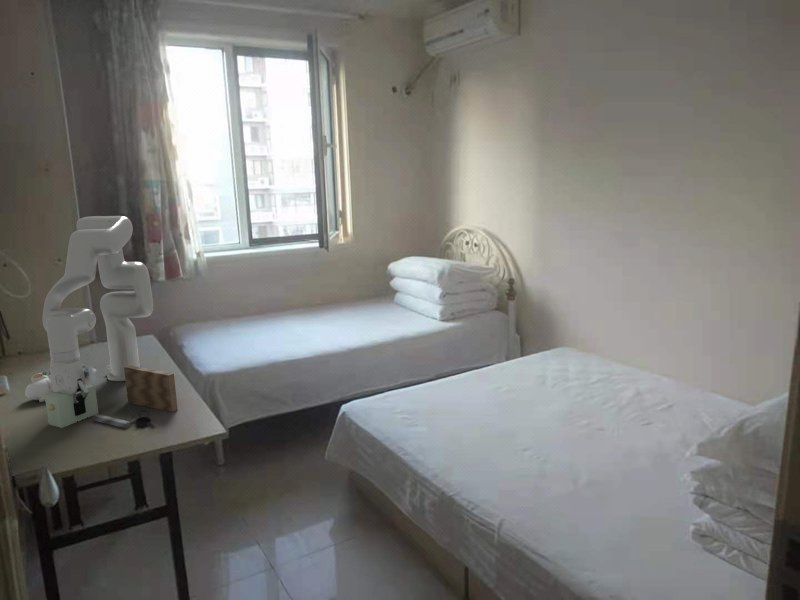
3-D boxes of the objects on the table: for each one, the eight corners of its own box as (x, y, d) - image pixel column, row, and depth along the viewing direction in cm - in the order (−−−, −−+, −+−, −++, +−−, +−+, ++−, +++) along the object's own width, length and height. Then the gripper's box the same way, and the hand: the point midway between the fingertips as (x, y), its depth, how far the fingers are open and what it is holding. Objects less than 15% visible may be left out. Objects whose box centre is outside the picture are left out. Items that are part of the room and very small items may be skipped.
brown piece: (87, 418, 177) (82, 381, 174) (133, 400, 191) (129, 365, 189) (133, 430, 168) (128, 390, 165) (177, 409, 182) (173, 373, 180)
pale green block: (45, 425, 172) (41, 397, 171) (85, 410, 184) (82, 382, 182) (58, 429, 170) (54, 400, 168) (98, 413, 181) (94, 385, 179)
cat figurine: (19, 376, 188) (70, 361, 197) (19, 383, 194) (68, 368, 203) (30, 403, 186) (80, 387, 196) (29, 409, 193) (78, 393, 202)
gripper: (34, 355, 174) (43, 412, 177) (72, 362, 166) (80, 421, 170) (58, 348, 180) (66, 403, 184) (96, 355, 173) (103, 412, 176)
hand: (73, 411), depth 177 cm, fingers closed on pale green block, 6 cm apart
